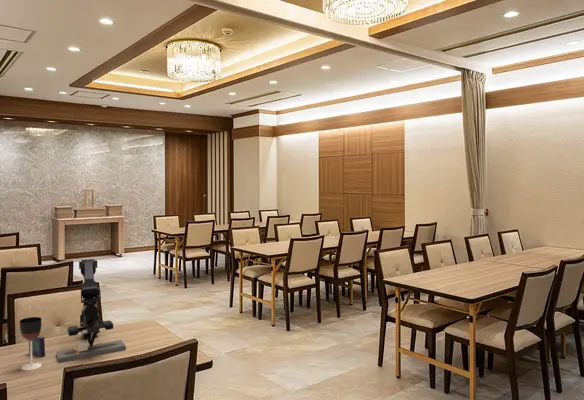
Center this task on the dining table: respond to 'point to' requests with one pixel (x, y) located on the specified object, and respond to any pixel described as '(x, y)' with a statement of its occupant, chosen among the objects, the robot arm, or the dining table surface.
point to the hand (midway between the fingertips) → (91, 346)
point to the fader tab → (82, 345)
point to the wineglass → (30, 336)
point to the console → (90, 351)
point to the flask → (38, 346)
